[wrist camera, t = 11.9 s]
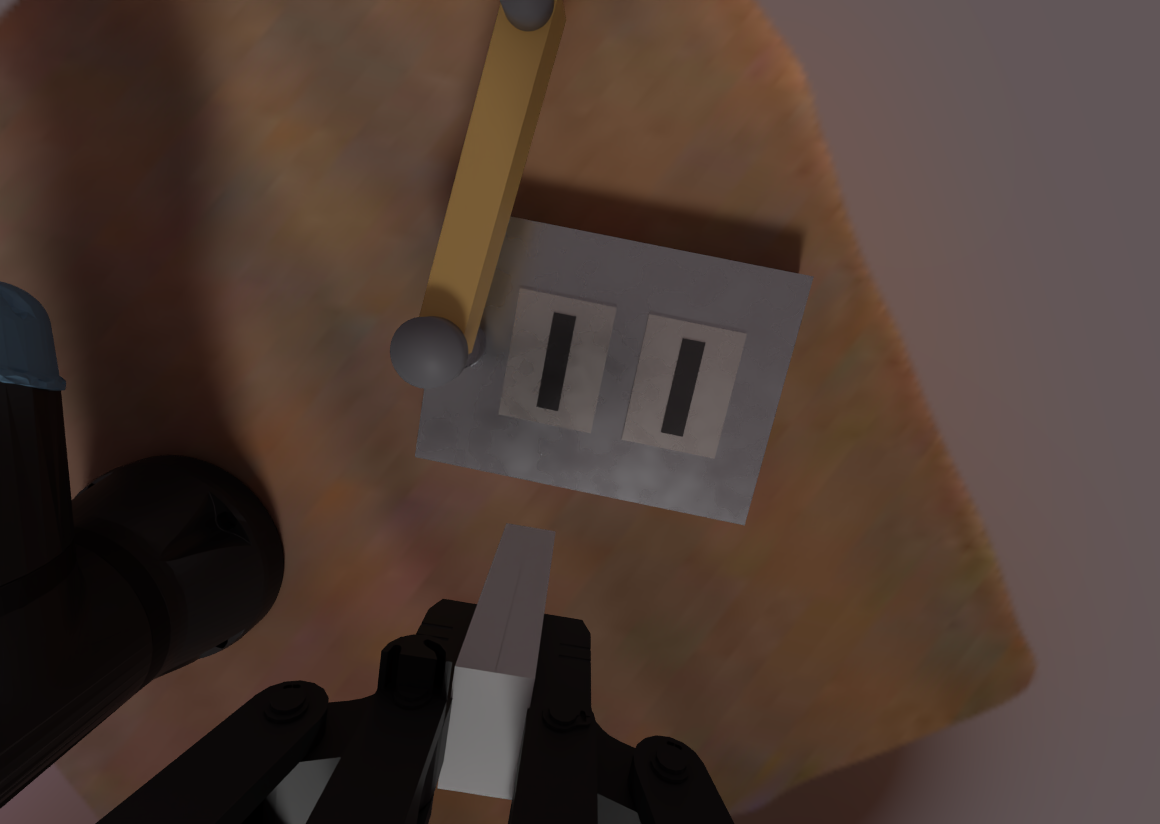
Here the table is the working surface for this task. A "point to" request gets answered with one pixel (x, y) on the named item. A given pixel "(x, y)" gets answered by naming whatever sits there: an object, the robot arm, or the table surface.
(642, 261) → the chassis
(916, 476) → the table surface
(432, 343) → the yellow wooden bar
